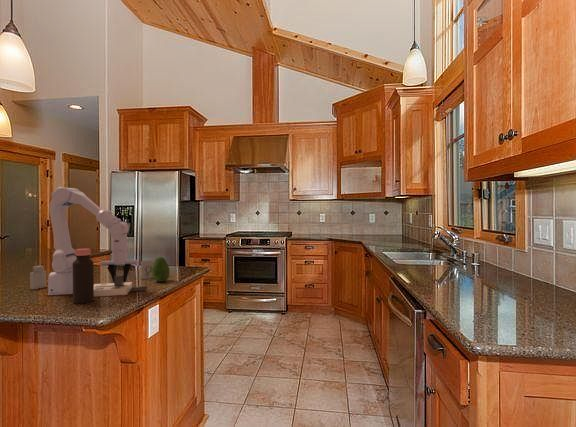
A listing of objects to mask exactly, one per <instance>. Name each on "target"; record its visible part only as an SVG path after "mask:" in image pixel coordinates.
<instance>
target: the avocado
mask: <svg viewBox="0 0 576 427" xmlns="http://www.w3.org/2000/svg"><path fill="white" fill-rule="evenodd" d="M154 260H155V262H154V265H153V268H152V276H153V278H152V279H154V280H155V281H156V282H158V283H159V282H160V283H163V282H166V281H167V280H168V279H169V277H170V274H171V273H170V267H169V265H168V264H169V263H168V262H167V260H166V259H165V258H164V256H163V257H162V256H159V257H157V258H155V259H154Z"/></svg>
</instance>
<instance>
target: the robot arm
mask: <svg viewBox="0 0 576 427" xmlns="http://www.w3.org/2000/svg"><path fill="white" fill-rule="evenodd" d="M50 195H51V199H50V203H49V205H48V211H49V216H50V222H51V227H52V233H53V238H54V244H55V251H54V253H53V254H52V262H51V268H52V270H53V271H52V272H50V273H49V275H48V282H47V285H48V286H47V292H48V293H47V296H58V295H59V296H61V295H73V262H74V261H75V260H76V259H77V257H76V255H75V250H76V249H74V248H73V247H72V241H71V236H70V229H69V224H68V218H67V212H66V211H67V210H68V209H69V207H71V206H73V205H74V204H76V205H80V206H82V207H83V208H84V209H86V210H87V211H88V212H90V213H92V214H93V215H94V216H95V220H96V221H97V222H98V223H99V224H101V225H102V226H103V227H105V228H106V229H107V230H108V231H109V233H110V235H111V260H100V261H99V267H107V268H106V269H107V271H108V272H109V274H110V276H111V279H112V283H114V276H115V275H117V266H122V268H123V269H122V270H123V271H122V272H123V274H124V279H123V282H124V283H125V282H127V280H128V275H129V272H130V270H131V268H132V266H134V265H135V266H138V265H139V264H140V262H139V260H140V259H128V233H129V231H130V225H129V224H128V223H127V222H125V221H122V219H121V218H118V217H117V216H115V215H114V214H113V211H111V210H108V209H102V208H101V207H100V206H99V205H97V204H96V203H95V202H94V201H93V200H91V198H90V197H88V196H87V195H86V194H85V193H84V192H83V191H81V190H79V188H76V187H64V186H59V187H56V188H55V189H54V190H52V192H51V193H50Z"/></svg>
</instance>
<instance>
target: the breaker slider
mask: <svg viewBox="0 0 576 427" xmlns="http://www.w3.org/2000/svg"><path fill="white" fill-rule="evenodd" d="M123 279H124V273H121V274H120V273H118V274H117V273H116V275H115V276H114V286H122V285H123V284H124V283H125V282H123Z"/></svg>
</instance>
